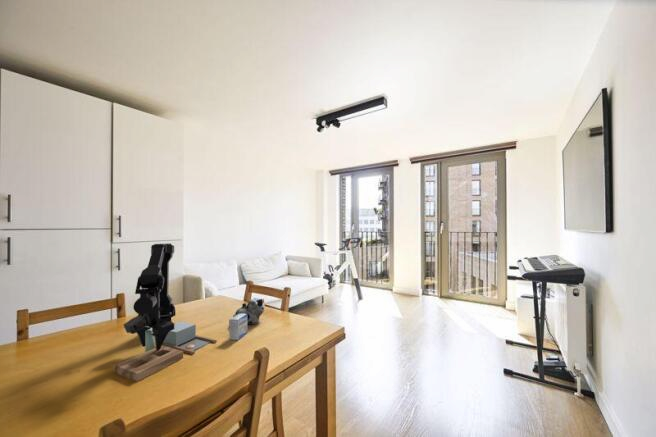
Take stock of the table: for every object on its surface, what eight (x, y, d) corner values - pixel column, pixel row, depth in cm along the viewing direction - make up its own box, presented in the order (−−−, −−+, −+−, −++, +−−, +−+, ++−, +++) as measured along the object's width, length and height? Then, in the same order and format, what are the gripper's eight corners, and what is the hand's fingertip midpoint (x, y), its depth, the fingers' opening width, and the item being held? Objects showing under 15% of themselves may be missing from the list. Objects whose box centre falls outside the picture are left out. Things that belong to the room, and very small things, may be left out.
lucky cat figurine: (239, 316, 143) (252, 291, 146) (259, 327, 141) (272, 301, 144) (228, 318, 128) (242, 290, 132) (249, 329, 126) (264, 301, 130)
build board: (114, 372, 90) (114, 365, 90) (161, 351, 105) (161, 345, 105) (137, 381, 85) (137, 373, 85) (183, 358, 100) (183, 351, 100)
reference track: (157, 344, 110) (157, 342, 110) (182, 334, 121) (182, 331, 121) (193, 354, 102) (193, 351, 102) (216, 342, 113) (216, 339, 113)
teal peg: (143, 355, 102) (143, 331, 102) (151, 351, 105) (151, 328, 105) (148, 356, 101) (148, 332, 101) (156, 353, 103) (156, 329, 103)
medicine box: (238, 340, 114) (238, 319, 114) (228, 339, 115) (228, 319, 115) (247, 333, 122) (247, 313, 122) (238, 332, 123) (238, 312, 123)
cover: (161, 342, 111) (161, 328, 112) (180, 333, 120) (180, 321, 120) (176, 346, 108) (176, 332, 108) (195, 337, 116) (195, 324, 116)
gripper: (111, 310, 99) (112, 353, 99) (144, 315, 92) (145, 362, 91) (143, 301, 109) (143, 341, 109) (175, 306, 102) (175, 348, 101)
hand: (151, 348), depth 102 cm, fingers open, 8 cm apart
